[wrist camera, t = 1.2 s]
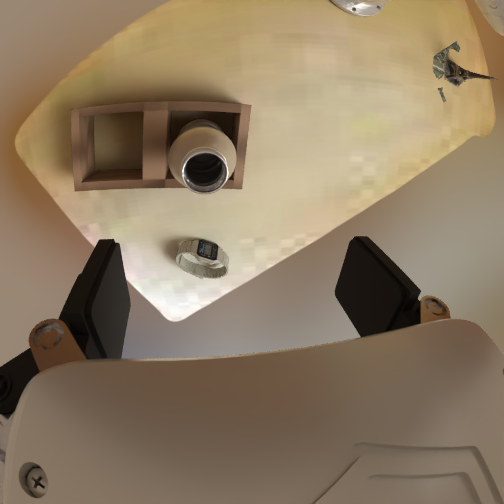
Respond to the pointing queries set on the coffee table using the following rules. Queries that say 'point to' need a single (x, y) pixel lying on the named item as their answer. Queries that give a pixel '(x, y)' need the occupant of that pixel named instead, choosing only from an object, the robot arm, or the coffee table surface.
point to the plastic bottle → (202, 157)
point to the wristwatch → (203, 259)
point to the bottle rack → (148, 145)
